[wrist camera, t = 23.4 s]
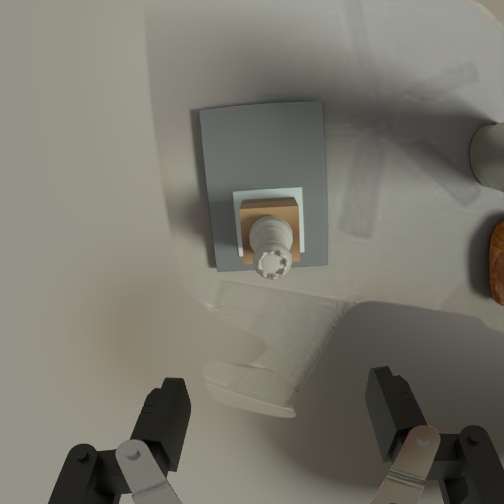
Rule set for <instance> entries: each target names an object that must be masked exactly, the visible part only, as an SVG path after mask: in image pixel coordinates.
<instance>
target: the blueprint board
mask: <svg viewBox="0 0 504 504" xmlns="http://www.w3.org/2000/svg"><path fill="white" fill-rule="evenodd" d="M199 115H200V125H201V136H202V146H203V156H204V165H205V175H206V184H207V193H208V201H209V210H210V218H211V227H212V235H213V243H214V250H215V258H216V265H217V272H228V271H245V270H255V268H254V267H253V264H244V259H243V247H242V236H241V225H240V213H239V208H240V206H241V203H242V200H249V199H265V198H283V197H295V200H296V202H297V204H298V206H299V231H300V261H296V262H292V264H291V267H290V268H293V267H308V266H322V265H328V202H327V173H326V153H325V137H324V122H323V109H322V101H307V102H281V103H265V104H251V105H240V106H230V107H221V108H213V109H205V110H199Z"/></svg>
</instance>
